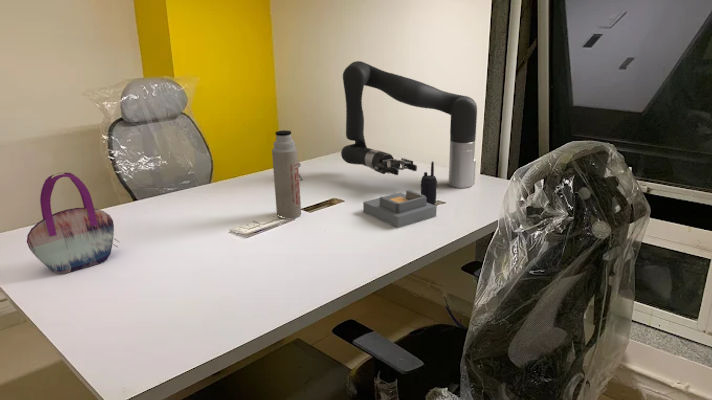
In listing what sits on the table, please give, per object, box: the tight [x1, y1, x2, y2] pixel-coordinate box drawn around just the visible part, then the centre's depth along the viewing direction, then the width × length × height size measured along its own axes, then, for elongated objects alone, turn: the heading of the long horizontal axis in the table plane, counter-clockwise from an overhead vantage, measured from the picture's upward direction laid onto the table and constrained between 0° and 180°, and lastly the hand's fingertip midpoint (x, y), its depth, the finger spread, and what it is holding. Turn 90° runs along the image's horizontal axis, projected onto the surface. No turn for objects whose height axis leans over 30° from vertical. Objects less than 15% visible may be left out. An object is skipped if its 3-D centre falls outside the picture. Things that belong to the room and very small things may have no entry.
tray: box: [362, 189, 438, 229], centre depth 167 cm, size 16×18×6 cm
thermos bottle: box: [271, 129, 302, 220], centre depth 165 cm, size 8×8×28 cm
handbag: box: [26, 172, 120, 275], centre depth 134 cm, size 21×10×25 cm, turn 131°
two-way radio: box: [420, 161, 438, 205], centre depth 174 cm, size 6×4×15 cm
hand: (407, 170), depth 182 cm, fingers open, 8 cm apart
